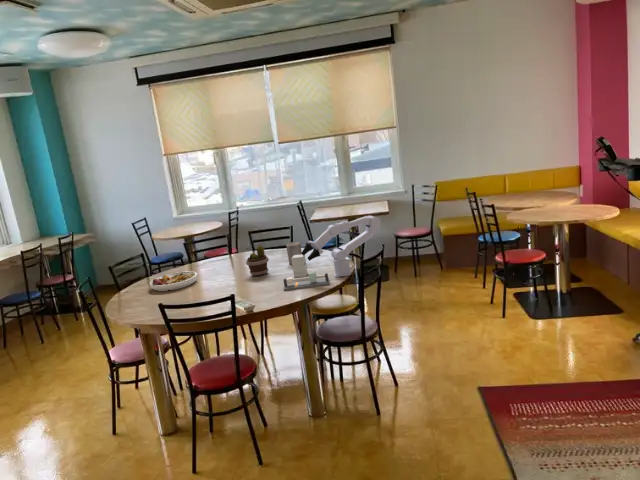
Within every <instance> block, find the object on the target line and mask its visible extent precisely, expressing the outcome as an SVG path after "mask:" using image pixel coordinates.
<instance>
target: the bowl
mask: <svg viewBox="0 0 640 480" xmlns="http://www.w3.org/2000/svg"><path fill="white" fill-rule="evenodd" d="M197 279H198V273H197V272H196V271H187V270H186V271H178V272H173V273H168V274H164V275H162V276H158V277H156V278H153V280H151V281H150V282H149V285H150V287H151V288H152V290H154V291H156V290H157V291H158V292H169V291H168V290H171V291H175V290H181V289H183V288H186V287H189V286H191V285H192V284H195V282H196V280H197Z"/></svg>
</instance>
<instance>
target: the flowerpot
mask: <svg viewBox="0 0 640 480" xmlns="http://www.w3.org/2000/svg"><path fill="white" fill-rule="evenodd" d="M255 250H256V253H255V252H254V253H249V257H247V259H246V261H245V264H246V266H248V269H249V274H250V276H252V277H261V276H265V275H267V274H268V272H269V268H268V262H269V260H270V259H269V257H268V256H267V255H266V253H265V252H266V249H265V247H264V246H263V245H262V244H261V243H260V244H258V245H257V247H256V249H255Z"/></svg>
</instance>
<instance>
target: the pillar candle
mask: <svg viewBox="0 0 640 480" xmlns="http://www.w3.org/2000/svg"><path fill="white" fill-rule="evenodd" d="M285 246H286V252H287V258H288V264H289V265H290V266H292V260H291V258H292V257H293V256H294V255H302V251H303V250H302V246H301V242H300V241H292V242H289V243H287V244H286V245H285Z"/></svg>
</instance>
